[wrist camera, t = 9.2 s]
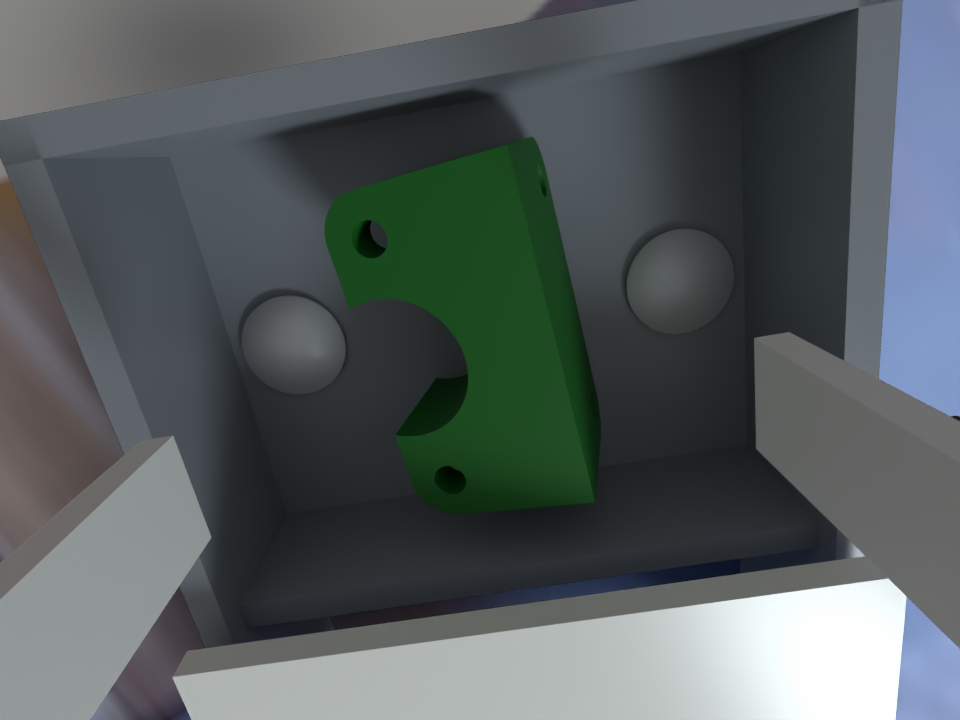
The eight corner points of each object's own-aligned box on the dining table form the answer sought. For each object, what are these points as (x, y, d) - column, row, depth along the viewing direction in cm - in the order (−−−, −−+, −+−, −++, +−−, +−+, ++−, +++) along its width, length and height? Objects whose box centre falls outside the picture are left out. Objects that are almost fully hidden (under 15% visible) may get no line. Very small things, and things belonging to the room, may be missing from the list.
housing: (359, 766, 32) (326, 938, 25) (147, 133, 21) (-14, 123, 14) (763, 715, 31) (847, 880, 24) (756, 19, 20) (905, -51, 13)
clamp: (427, 216, 26) (302, 142, 17) (561, 180, 24) (496, 78, 15) (469, 490, 25) (361, 557, 16) (610, 475, 23) (571, 542, 15)
